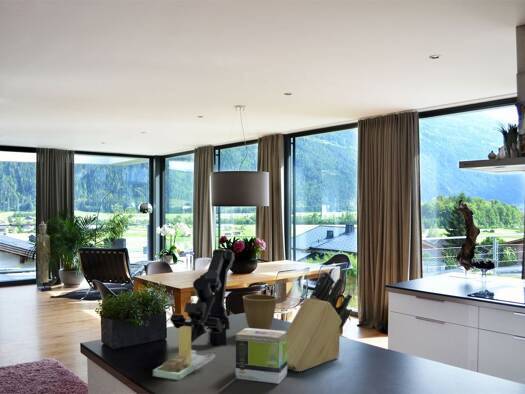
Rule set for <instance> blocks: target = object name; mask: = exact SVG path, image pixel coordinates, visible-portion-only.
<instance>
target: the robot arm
mask: <svg viewBox="0 0 525 394" xmlns="http://www.w3.org/2000/svg"><path fill="white" fill-rule="evenodd" d="M235 259H236V258H235V252H233V251H232V249H223V248H221V249H220V248H215V249H213V251H212V257H211V260H210V263H209V265H208V268H207V271H205V272H204V273H203V274H200V276H199V278H196V279H195V280H193V282H192V287H193V290H194V292H195V295H196V298H197V301H196V303H195V302H185V306H184V309H183V310H184V311H183V313H187V316H188V317H185V316H184V314H180V313H173V314H172V315H171V316H170V319H169V321H170V322H171V324H172V325H173V326H174V328H175V329H179V328H180V327H182V326H190V327H191V344H193V343H194V342H195V341H196V340H197V339H198V338H199V337H201V336H203V335H204V334H207V343H208V344H209V345H210V346H211V347H216V346H217V347H218V346H225V345H228V342H227V330H230V320H229V317H228V312H227V310H226V307H225V299H226V298H225V297H226V288H227V282H228V281H227V280H228V279H227V278H228V272H229V270H230V269H232V267H233V262H234V261H235ZM207 330H208V332H207Z"/></svg>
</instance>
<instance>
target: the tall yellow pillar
mask: <svg viewBox="0 0 525 394" xmlns="http://www.w3.org/2000/svg"><path fill="white" fill-rule="evenodd" d="M191 350H192V343H191V327H190V326H182V327H180V328H178V356H181V357H187V367H188V365H190V364H191Z"/></svg>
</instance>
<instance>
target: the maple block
mask: <svg viewBox="0 0 525 394" xmlns="http://www.w3.org/2000/svg"><path fill="white" fill-rule="evenodd" d="M170 359H172V360H179V361H181V368H180V372H181V371H182V370H184V369H186V368H187V357H181V356H179V355H175V356H172V358H170Z"/></svg>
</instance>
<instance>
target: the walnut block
mask: <svg viewBox="0 0 525 394" xmlns="http://www.w3.org/2000/svg"><path fill="white" fill-rule="evenodd" d="M162 363H163V364H162V365H163V371H168V372H175V373H179V372H180V368H181V361H179V360H172V359H171V358H170V359H168V360H166V361H164V362H162Z"/></svg>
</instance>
